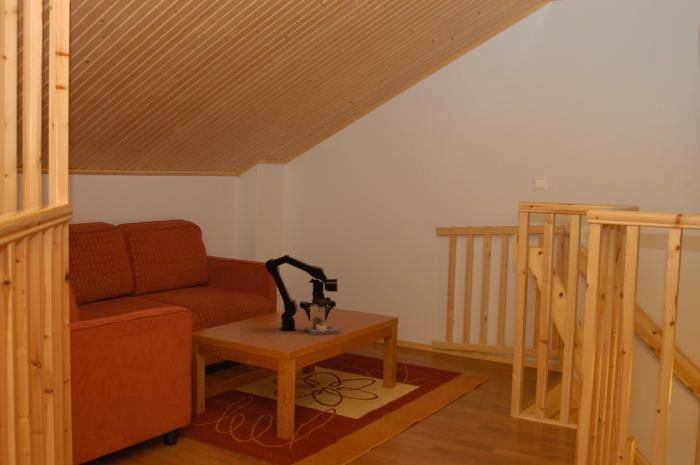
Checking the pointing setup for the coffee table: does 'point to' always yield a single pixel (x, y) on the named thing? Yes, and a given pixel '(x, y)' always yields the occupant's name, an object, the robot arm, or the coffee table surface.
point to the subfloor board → (316, 332)
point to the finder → (321, 327)
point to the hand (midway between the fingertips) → (317, 320)
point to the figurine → (320, 311)
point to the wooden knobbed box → (316, 321)
